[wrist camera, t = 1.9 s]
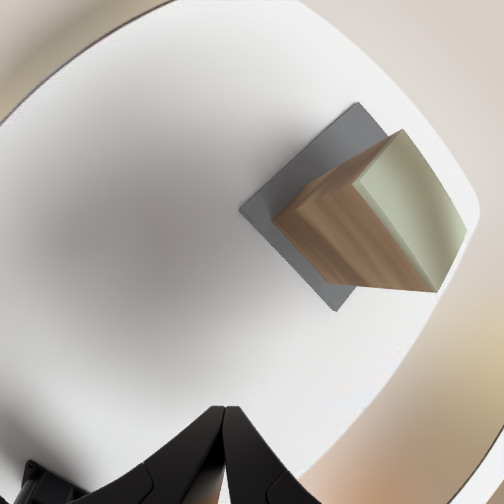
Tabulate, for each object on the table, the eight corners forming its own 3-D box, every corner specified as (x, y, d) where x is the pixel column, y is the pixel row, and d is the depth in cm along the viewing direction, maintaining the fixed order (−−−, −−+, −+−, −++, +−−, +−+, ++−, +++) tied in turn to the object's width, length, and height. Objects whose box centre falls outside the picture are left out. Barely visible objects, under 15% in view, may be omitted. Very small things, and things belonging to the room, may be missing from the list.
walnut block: (328, 283, 20) (437, 292, 10) (271, 221, 19) (359, 180, 10) (359, 244, 21) (467, 230, 11) (308, 183, 20) (402, 128, 10)
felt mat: (333, 310, 21) (336, 311, 20) (238, 210, 19) (240, 208, 19) (420, 187, 24) (424, 186, 23) (355, 103, 22) (358, 101, 22)
